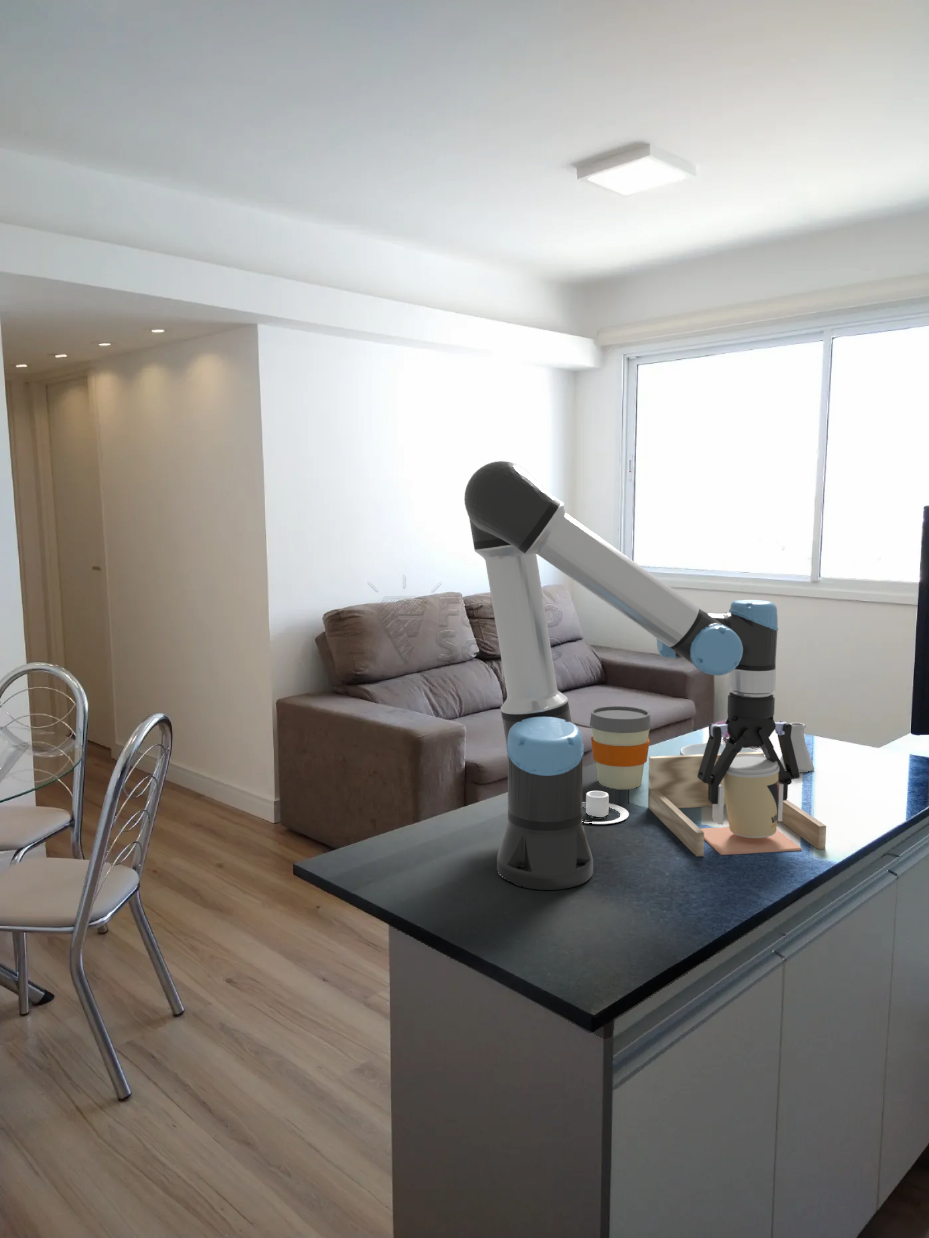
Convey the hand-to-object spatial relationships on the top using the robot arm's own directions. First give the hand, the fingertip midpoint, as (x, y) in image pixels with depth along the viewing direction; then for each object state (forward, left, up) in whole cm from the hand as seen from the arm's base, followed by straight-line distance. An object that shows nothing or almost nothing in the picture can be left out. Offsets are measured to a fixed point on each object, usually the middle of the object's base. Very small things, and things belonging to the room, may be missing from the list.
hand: (747, 820), depth 149 cm
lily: (+27, +61, -4) cm, 66 cm away
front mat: (0, 0, -4) cm, 4 cm away
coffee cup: (+1, 0, -2) cm, 2 cm away
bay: (0, +7, -4) cm, 8 cm away
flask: (+29, +38, -4) cm, 48 cm away
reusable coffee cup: (-12, +34, -4) cm, 37 cm away
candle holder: (-22, +16, -4) cm, 28 cm away
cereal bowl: (+8, +29, -4) cm, 31 cm away
